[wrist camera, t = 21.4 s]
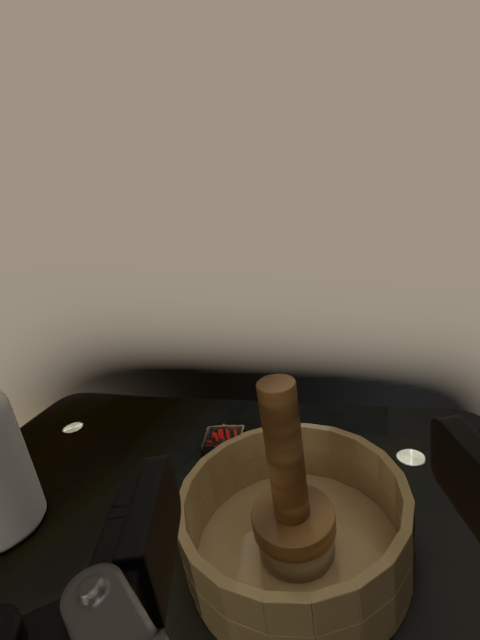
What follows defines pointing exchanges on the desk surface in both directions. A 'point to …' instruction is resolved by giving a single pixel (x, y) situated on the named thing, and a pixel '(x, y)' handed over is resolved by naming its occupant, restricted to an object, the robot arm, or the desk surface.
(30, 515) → the can
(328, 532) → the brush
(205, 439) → the small printed card
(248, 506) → the bowl
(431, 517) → the desk surface
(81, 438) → the desk surface
